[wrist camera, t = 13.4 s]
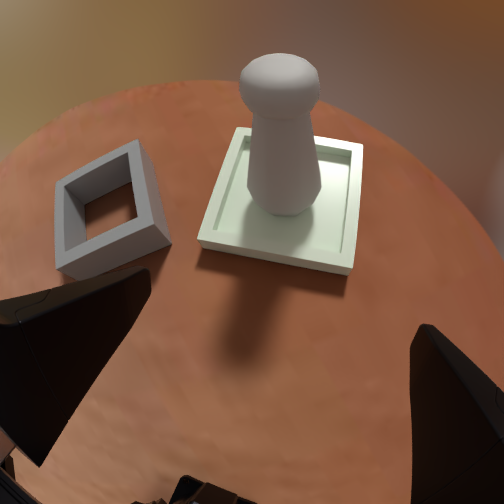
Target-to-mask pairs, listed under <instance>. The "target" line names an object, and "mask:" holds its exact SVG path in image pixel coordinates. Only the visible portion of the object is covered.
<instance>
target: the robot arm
mask: <svg viewBox="0 0 504 504" xmlns="http://www.w3.org/2000/svg"><path fill="white" fill-rule="evenodd" d="M150 294H151V279H150V271H149V269H148V268H146V267H142V266H134V267H130V268H127V269H123V270H119V271H115V272H111V273H107V274H104V275H100V276H96V277H92V278H89V279H85V280H81V281H77V282H74V283H70V284H66V285H62V286H59V287H55V288H52V289H47V290H44V291H40V292H36V293H32V294H28V295H24V296H19V297H15V298H10V299H5V300H0V504H42V503H41V502H39V501H38V500H37V499H36V498H34V497H33V496H32V495H31V494H30V493H29V492H27V491H26V490H25V489H24V488H23V487H22V486H21V485H20V484H18V483H17V482H16V480H15V472H14V464H13V458H12V457H11V456H10V454H11V452H12V451H13V450H14V449H15V448H17V449H18V450H19V451H20V452H21V453H22V454H23V455H24V456H26V457H27V458H28V459H29V460H30V461H31V462H33V463H34V464H35V465H36V466H38V467H40V466H41V465H42V464H43V462H44V460H45V459H46V457H47V455H48V454H49V452H50V450H51V449H52V447H53V445H54V444H55V442H56V440H57V439H58V437H59V436H60V434H61V432H62V431H63V429H64V428H65V426H66V424H67V423H68V420H69V419H70V418H71V416H72V415H73V413H74V412H75V410H76V408H77V407H78V405H79V404H80V402H81V401H82V399H83V398H84V396H85V395H86V393H87V392H88V390H89V389H90V387H91V386H92V384H93V383H94V381H95V380H96V378H97V377H98V375H99V374H100V372H101V371H102V369H103V368H104V367H105V365H106V364H107V362H108V361H109V359H110V358H111V356H112V355H113V354H114V352H115V351H116V349H117V348H118V346H119V345H120V344H121V342H122V341H123V339H124V338H125V337H126V335H127V334H128V332H129V331H130V329H131V328H132V326H133V325H134V323H135V321H136V319H137V318H138V316H139V314H140V312H141V310H142V309H143V307H144V305H145V304H146V302H147V300H148V298H149V297H150ZM410 404H411V421H412V490H411V504H504V392H503V391H502V390H501V389H500V388H499V387H497V385H496V384H495V383H494V382H493V381H492V380H491V379H490V378H489V377H488V376H487V375H486V374H485V373H484V372H483V371H482V370H481V369H480V368H479V367H478V366H477V365H475V364H474V363H473V362H472V361H471V360H470V359H469V358H468V357H467V356H466V355H465V354H464V353H463V352H462V351H461V350H460V349H459V348H458V347H456V346H455V345H454V344H453V343H452V342H451V341H450V340H449V339H448V338H447V337H446V336H444V335H443V334H442V333H441V332H440V331H439V330H438V329H437V328H436V327H434V326H433V325H430V324H421V325H420V326H419V328H418V330H417V332H416V335H415V337H414V339H413V341H412V343H411V346H410ZM184 479H187V480H188V481H189V483H187V482H185V481H184ZM131 504H143V503H140V502H137V501H135V502H133V503H131ZM146 504H147V503H146ZM148 504H167V503H166V502H165V501H164V500H163V499H162V498H161V499H159V500H158V501H156V502H155V501H152V502H150V503H148ZM169 504H257V503H255V502H252V501H250V500H247V499H244V498H241V497H238V496H237V494H235V493H232V492H230V491H227V490H225V489H222V488H220V487H217V486H215V485H213V484H210V483H204V482H202V481H200V480H197V479H195V478H193V477H191V476H189V475H184V476H182V477H181V478H180V480H179V482H178V484H177V487H176V489H175V491H174V493H173V495H172V498H171V500H170V502H169Z"/></svg>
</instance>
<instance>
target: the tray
mask: <svg viewBox="0 0 504 504" xmlns="http://www.w3.org/2000/svg"><path fill="white" fill-rule="evenodd" d="M251 132H252V128H242V127H237V128H236V131H235V133H234V136H233V139H232V141H231V144H230V147H229V149H228V152H227V155H226V157H225V160H224V163H223V165H222V168H221V171H220V173H219V176H218V179H217V182H216V185H215V187H214V190H213V193H212V196H211V199H210V202H209V204H208V207H207V210H206V213H205V216H204V219H203V222H202V225H201V228H200V231H199V234H198V237H197V240H198V241H199V243H200V244H201V246H202V247H203V248H205V249H210V250H216V251H221V252H226V253H231V254H236V255H241V256H247V257H252V258H257V259H262V260H267V261H272V262H278V263H283V264H288V265H293V266H299V267H304V268H309V269H314V270H320V271H325V272H330V273H335V274H341V275H346V276H348V275H349V273H350V272H351V270H352V269H353V262H354V254H355V246H356V237H357V227H358V217H359V206H360V193H361V178H362V158H363V145H362V144H357V143H352V142H346V141H341V140H335V139H330V138H324V137H317V136H314V140H315V146H316V151H317V157H318V162H319V167H320V173H321V186H322V188H321V190H320V192H319V194H318V196H317V198H316V200H315V202H314V203H313V204H312V205H311V206H309V207H308V208H306V209H305V210H303V211H302V212H301V213H299V214H298V215H297V216H273V215H272V214H270V213H268V212H267V211H265V210H264V209H263V208H261V207H260V206H259V205H258V204H256V203H255V202H254V200H253V198H252V196H251V194H250V192H249V190H248V188H247V177H248V166H249V154H250V143H251Z"/></svg>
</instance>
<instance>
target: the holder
mask: <svg viewBox="0 0 504 504" xmlns="http://www.w3.org/2000/svg"><path fill="white" fill-rule="evenodd" d="M131 181H132V185H133V191H134V197H135V203H136V209H137V215H138V217H137V218H135V219H133V220H130V221H128V222H126V223H124V224H122V225H119V226H117V227H115V228H113V229H111V230H109V231H107V232H105V233H102V234H100V235H98V236H96V237H94V238H92V239H90V240H88V241H87V238H86V225H85V208H84V205H85V204H87V203H89V202H91V201H93V200H95V199H97V198H99V197H101V196H103V195H105V194H107V193H109V192H111V191H113V190H115V189H117V188H119V187H121V186H123V185H125V184H127V183H129V182H131ZM171 244H172V242H171V238H170V234H169V230H168V226H167V222H166V218H165V214H164V210H163V206H162V202H161V197H160V193H159V189H158V184H157V180H156V175H155V171H154V166H153V162H152V161H151V159H150V157H149V156H148V154H147V153H146V151H145V149H144V148H143V146H142V144H141V143H140V141H139V139H136V140H134V141H132V142H130V143H128V144H126V145H124V146H121V147H119V148H117V149H115V150H113V151H111V152H109V153H107V154H106V155H104V156H102V157H100V158H98V159H96V160H94V161H92V162H90V163H89V164H87V165H85V166H83V167H81V168H80V169H78V170H76V171H74V172H73V173H71V174H69V175H67V176H66V177H64V178H62V179H61V180H59V181H57V182H56V188H55V261H56V270H58V271H60V272H62V273H64V274H66V275H68V276H70V277H72V278H74V279H75V280H77V281H81V280H85V279H89V278H92V277H96V276H98V275H100V274H102V273H105V272H107V271H109V270H112V269H114V268H116V267H119V266H121V265H123V264H126V263H128V262H130V261H133V260H135V259H137V258H140V257H142V256H145V255H147V254H149V253H152V252H154V251H157V250H159V249H161V248H164V247H166V246H169V245H171Z"/></svg>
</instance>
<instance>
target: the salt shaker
mask: <svg viewBox="0 0 504 504" xmlns="http://www.w3.org/2000/svg"><path fill="white" fill-rule="evenodd" d="M239 91H240V94H241V98H242V100H243V101H244V103H245V104H246V105H247V107H248V108H249V110H250V111H251V112H253V121H252V132H251V143H250V154H249V166H248V177H247V188H248V190H249V192H250V194H251V196H252V198H253V200H254V202H255V203H256V204H258V205H259V206H260V207H261V208H263V209H264V210H265V211H267V212H268V213H270V214H272V215H273V216H297V215H298V214H299V213H301V212H302V211H303V210H305V209H306V208H308V207H309V206H311V205H312V204H313V203H314V202H315V200H316V198H317V196H318V194H319V192H320V190H321V188H322V186H321V173H320V167H319V162H318V157H317V151H316V146H315V140H314V134H313V128H312V123H311V117H310V111H311V110H312V108H313V107H314V106H315V104H316V103H317V101H318V99H319V95H320V85H319V79H318V73H317V70H316V69H315V68H314V67H313V66H312V65H311V64H310V63H309V62H307V61H306V60H305V59H303V58H300V57H298V56H295V55H291V54H282V53H277V54H269V55H264V56H262V57H259V58H257V59H254V60H253V61H252V62H250V63H249V64H248V65H247V66H246V67H245V68H244V69H243V70H242V72H241V76H240V85H239Z"/></svg>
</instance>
